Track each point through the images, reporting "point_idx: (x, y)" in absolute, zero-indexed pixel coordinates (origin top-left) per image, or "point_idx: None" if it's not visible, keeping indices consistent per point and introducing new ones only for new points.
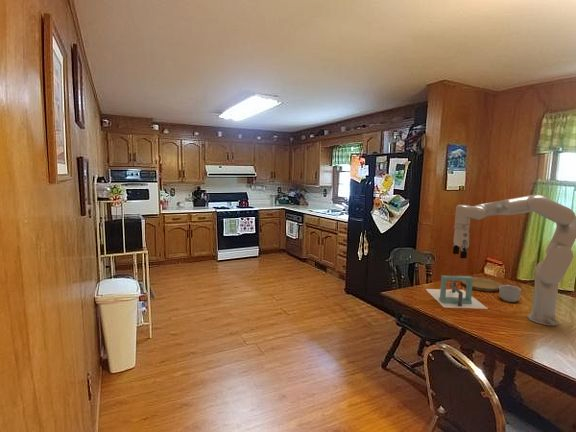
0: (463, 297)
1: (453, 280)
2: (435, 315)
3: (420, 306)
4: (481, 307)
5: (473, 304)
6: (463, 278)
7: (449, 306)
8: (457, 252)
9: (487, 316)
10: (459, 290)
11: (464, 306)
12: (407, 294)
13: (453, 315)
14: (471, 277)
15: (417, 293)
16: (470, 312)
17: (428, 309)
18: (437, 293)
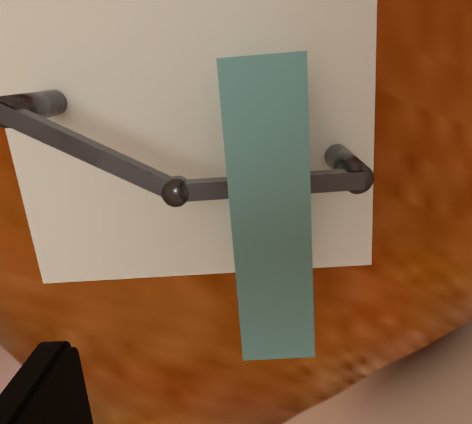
0: (163, 68)
1: (30, 132)
2: (447, 321)
3: (323, 361)
4: (356, 6)
5: (302, 46)
6: (309, 166)
7: (353, 226)
8: (67, 400)
9: (463, 13)
10: (321, 178)
11: (347, 128)
12: (141, 385)
13: (446, 228)
14: (273, 56)
15: (109, 329)
16: (397, 106)
17: (364, 333)
18: (118, 230)
